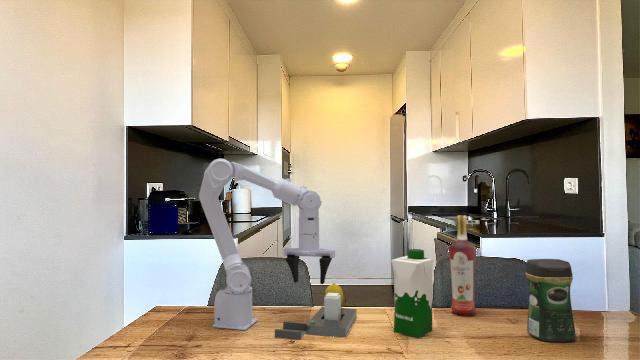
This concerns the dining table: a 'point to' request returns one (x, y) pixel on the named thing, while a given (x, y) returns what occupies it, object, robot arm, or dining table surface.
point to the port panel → (331, 324)
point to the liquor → (462, 271)
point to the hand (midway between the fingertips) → (309, 282)
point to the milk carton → (413, 294)
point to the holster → (291, 330)
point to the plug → (332, 306)
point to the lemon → (334, 290)
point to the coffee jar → (550, 300)
